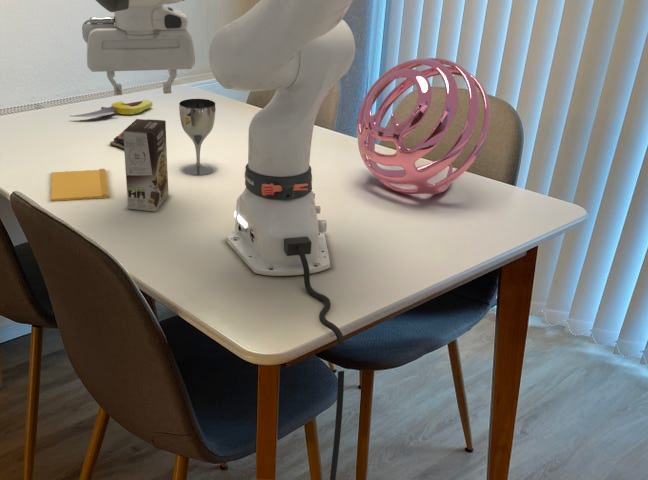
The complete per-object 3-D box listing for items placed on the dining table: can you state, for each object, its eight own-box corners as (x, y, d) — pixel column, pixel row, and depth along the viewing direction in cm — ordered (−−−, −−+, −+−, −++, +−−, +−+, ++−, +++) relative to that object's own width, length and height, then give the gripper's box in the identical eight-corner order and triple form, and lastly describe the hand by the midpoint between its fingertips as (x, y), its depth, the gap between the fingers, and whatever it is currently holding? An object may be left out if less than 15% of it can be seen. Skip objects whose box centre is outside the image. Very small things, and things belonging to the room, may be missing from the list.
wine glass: (173, 169, 177) (171, 103, 169) (198, 161, 182) (197, 96, 174) (198, 178, 173) (197, 110, 165) (222, 169, 178) (222, 103, 169)
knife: (79, 126, 204) (159, 111, 217) (78, 116, 203) (158, 101, 216) (65, 119, 209) (144, 104, 222) (64, 109, 208) (143, 95, 221)
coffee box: (157, 212, 156) (153, 133, 148) (127, 209, 157) (121, 130, 149) (169, 195, 164) (166, 119, 155) (140, 193, 165) (136, 117, 156)
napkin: (109, 197, 163) (108, 194, 162) (51, 201, 161) (50, 197, 160) (105, 171, 176) (105, 168, 175) (52, 174, 174) (51, 171, 173)
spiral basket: (455, 72, 177) (397, 10, 157) (540, 133, 161) (488, 73, 141) (374, 169, 187) (310, 123, 166) (446, 237, 171) (385, 194, 150)
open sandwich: (128, 153, 187) (127, 137, 185) (107, 144, 192) (106, 129, 190) (162, 143, 193) (161, 128, 191) (140, 135, 198) (139, 121, 196)
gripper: (81, 20, 137) (88, 100, 144) (195, 18, 140) (196, 96, 148) (80, 14, 142) (87, 91, 149) (191, 12, 145) (192, 87, 153)
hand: (142, 93), depth 149 cm, fingers open, 8 cm apart
